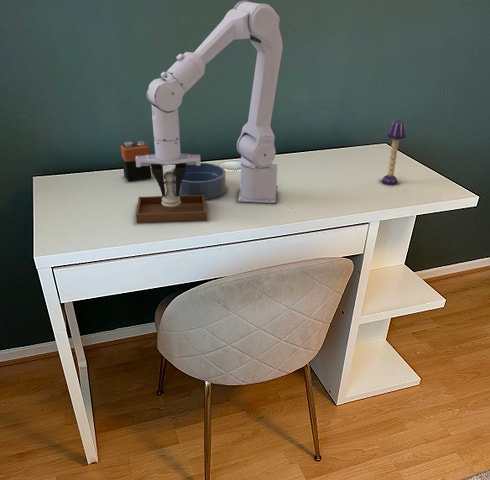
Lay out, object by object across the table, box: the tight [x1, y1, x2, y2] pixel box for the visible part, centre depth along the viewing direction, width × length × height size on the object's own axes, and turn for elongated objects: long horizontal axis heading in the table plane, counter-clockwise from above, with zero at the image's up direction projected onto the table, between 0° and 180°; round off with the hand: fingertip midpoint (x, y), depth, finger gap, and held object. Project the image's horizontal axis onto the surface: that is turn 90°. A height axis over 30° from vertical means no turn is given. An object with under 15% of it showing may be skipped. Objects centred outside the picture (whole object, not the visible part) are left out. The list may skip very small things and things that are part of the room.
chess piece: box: [161, 170, 181, 207], centre depth 118 cm, size 5×5×8 cm
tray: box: [135, 195, 208, 224], centre depth 121 cm, size 16×10×2 cm, turn 97°
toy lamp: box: [381, 119, 406, 186], centre depth 136 cm, size 5×5×17 cm
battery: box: [120, 140, 152, 182], centre depth 137 cm, size 4×7×10 cm, turn 115°
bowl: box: [170, 162, 227, 200], centre depth 132 cm, size 14×14×5 cm
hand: (170, 194), depth 119 cm, fingers closed on chess piece, 3 cm apart
